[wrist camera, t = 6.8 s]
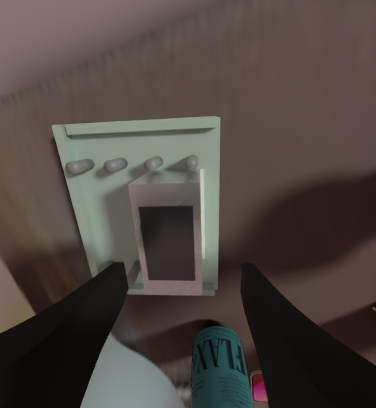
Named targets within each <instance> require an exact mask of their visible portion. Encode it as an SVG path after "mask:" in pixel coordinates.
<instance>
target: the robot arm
mask: <svg viewBox="0 0 376 408" xmlns="http://www.w3.org/2000/svg"><path fill="white" fill-rule="evenodd" d="M128 289H129V287H128V281H127V276H126V270H125V265H124V262H114V263H112V264H111V265H109V266H108V267H107V268H105V269H104V270H103V271H101V272H100V273H99V274H97V275H96V276H95V277H93V278H92V279H91V280H89V281H88V282H86V283H85V284H84V285H82V286H81V287H79V288H78V289H77V290H75V291H74V292H72V293H71V294H69V295H68V296H66V297H65V298H63V299H62V300H60V301H59V302H57V303H56V304H54V305H52V306H51V307H49V308H47V309H46V310H44V311H42V312H40V313H39V314H37V315H35V316H33V317H32V318H29V319H28V320H26V321H24V322H22V323H20V324H18V325H16V326H14V327H13V328H10V329H9V330H6V331H4V332H2V333H0V408H80V406H81V403H82V400H83V397H84V395H85V392H86V389H87V386H88V384H89V381H90V378H91V375H92V373H93V370H94V368H95V365H96V362H97V360H98V357H99V355H100V352H101V350H102V348H103V346H104V343H105V341H106V339H107V337H108V335H109V333H110V331H111V329H112V327H113V325H114V323H115V321H116V319H117V317H118V315H119V313H120V310H121V308H122V306H123V304H124V301H125V298H126V295H127V292H128ZM241 297H242V302H243V307H244V311H245V315H246V318H247V321H248V325H249V328H250V331H251V334H252V338H253V341H254V344H255V348H256V351H257V355H258V358H259V362H260V366H261V371H262V376H263V380H264V385H265V390H266V395H267V399H268V404H269V408H376V365H374V364H372V363H371V362H369V361H368V360H366V359H365V358H363V357H362V356H360V355H359V354H357V353H356V352H354V351H352V350H351V349H350V348H348V347H347V346H345V345H344V344H342V343H341V342H339V341H338V340H337V339H335V338H334V337H332V336H331V335H330V334H328V333H327V332H326V331H324V330H323V329H322V328H320V327H319V326H318V325H316V324H315V323H314V322H313V321H311V320H310V319H309V318H308V317H306V316H305V315H304V314H303V313H302V312H300V311H299V310H298V309H297V308H296V307H295V306H294V305H292V304H291V303H290V302H289V301H288V300H287V299H286V298H285V297H284V296H283V295H282V294H281V293H280V292H279V291H278V290H277V289H276V288H275V287H274V286H273V285H272V284H271V283H270V282H269V281H268V280H267V278H266V277H265V276H264V275H263V274H262V273H261V272H260V271H259V269H258V268H257V267H256V266H255V265H254V264H242V277H241Z"/></svg>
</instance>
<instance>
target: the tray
mask: <svg viewBox="0 0 376 408" xmlns="http://www.w3.org/2000/svg"><path fill="white" fill-rule="evenodd" d="M51 126H52V129H53V133H54V137H55V140H56V144H57V148H58V152H59V155H60V159H61V163H62V167H63V170H64V174H65V178H66V181H67V185H68V189H69V193H70V196H71V200H72V204H73V207H74V211H75V215H76V219H77V222H78V226H79V230H80V234H81V237H82V241H83V245H84V248H85V252H86V256H87V260H88V263H89V267H90V271H91V275H92V278H93V277H95V276H96V275H97V274H99V273H100V272H101V271H103V270H104V269H105V268H107V267H108V266H109V265H111V264H112V263H114V262H124V265H125V270H126V276H127V281H128V287H129V289H128V292H127V294H137V295H158V294H145V291H144V285H143V278H142V272H141V266H140V259H139V253H138V246H137V240H136V233H135V227H134V221H133V214H132V208H131V201H130V195H129V189H128V184H130V183H131V182H133V181H134V180H136V179H138V178H139V177H141V176H142V175H144V174H146V173H147V172H153V171H155V170H184V169H188V170H190V171H192V170H195V169H200V179H201V228H202V295H187V296H215V289H218V237H219V167H220V117H217V118H216V116H209V117H191V118H173V119H155V120H137V121H118V122H100V123H82V124H65V125H51Z"/></svg>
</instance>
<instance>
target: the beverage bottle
mask: <svg viewBox="0 0 376 408" xmlns="http://www.w3.org/2000/svg"><path fill="white" fill-rule="evenodd" d="M193 343H194V354H193V352H192V362H193V382H192V386H191V388H192V390H191V391H192V394H191V395H192V399H191V400H192V408H254V407H255V406H253V402H254V401H253V400H252V397H253V396H252V395H251V392H252V391H251V390H250V385H251V384H250V385H249V380H250V377H249V380H248V374H247V371H248V370H247V369H246V366H247V365H246V364H245V361H246V360H245V359H244V356H245V355H244V354H245V352H244V351H243V348H242V344H241V340H240V339H239V337H238V335H237V334H236V333H235V332H234V331H232V330H231V329H229V328H226V327H221V326H212V327H208V328H205V329H203V330H201V331H200V332H199V333H198V334H197V336H196V338H195V341H194V342H193ZM192 348H193V347H192ZM192 350H193V349H192ZM243 352H244V353H243ZM247 368H248V367H247ZM191 373H192V371H191ZM191 381H192V374H191ZM250 383H251V382H250ZM252 394H253V393H252ZM191 395H190V396H191ZM190 398H191V397H190ZM253 398H254V397H253Z"/></svg>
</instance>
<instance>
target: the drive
mask: <svg viewBox="0 0 376 408" xmlns="http://www.w3.org/2000/svg"><path fill="white" fill-rule="evenodd" d="M128 189H129V195H130V201H131V208H132V214H133V221H134V227H135V233H136V240H137V246H138V253H139V259H140V266H141V272H142V278H143V285H144V291H145V294H158V295H202V228H201V179H200V169H195V170H192V171H190V170H188V169H184V170H155V171H153V172H147V173H146V174H144V175H142V176H141V177H139V178H138V179H136V180H134V181H133V182H131V183H130V184H128Z"/></svg>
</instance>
